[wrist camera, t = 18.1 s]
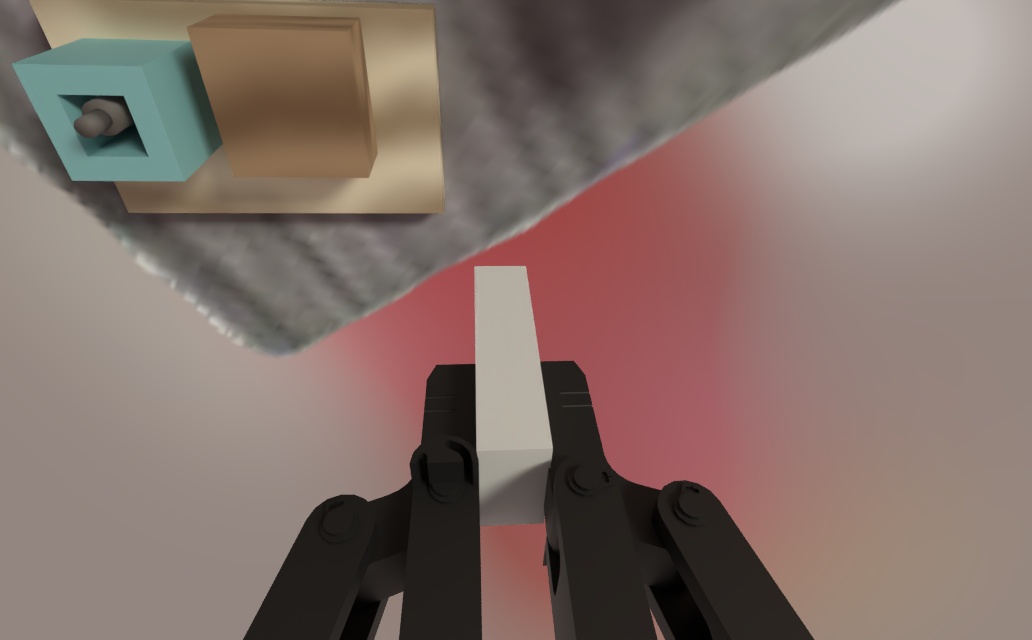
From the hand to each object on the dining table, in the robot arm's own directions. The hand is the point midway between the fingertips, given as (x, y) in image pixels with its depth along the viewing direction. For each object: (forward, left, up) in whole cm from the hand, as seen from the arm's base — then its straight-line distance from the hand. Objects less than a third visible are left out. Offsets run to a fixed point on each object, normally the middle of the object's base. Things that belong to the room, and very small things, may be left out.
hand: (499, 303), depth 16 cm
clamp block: (0, -11, -22) cm, 25 cm away
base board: (+2, -14, -24) cm, 28 cm away
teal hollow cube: (0, -20, -22) cm, 30 cm away
